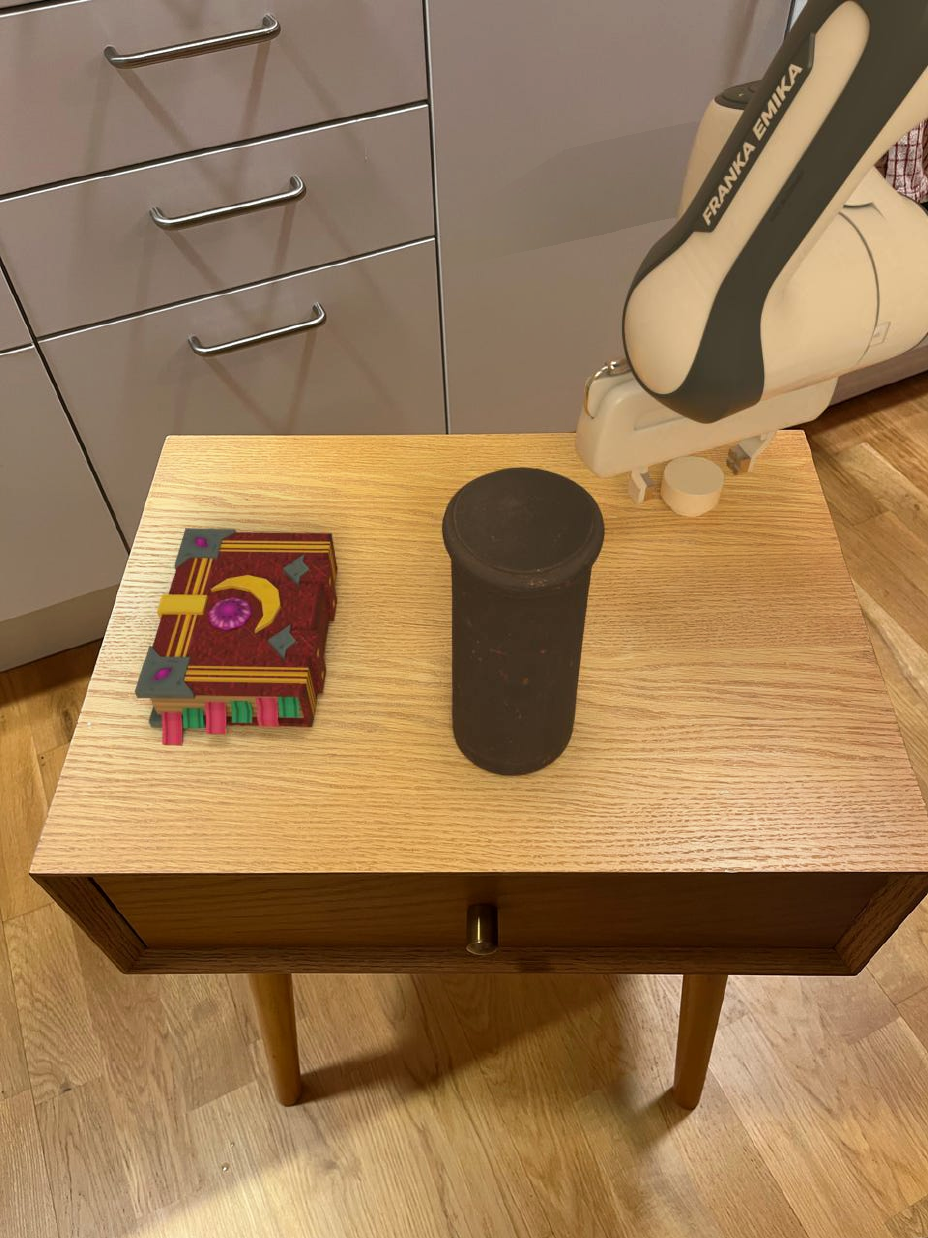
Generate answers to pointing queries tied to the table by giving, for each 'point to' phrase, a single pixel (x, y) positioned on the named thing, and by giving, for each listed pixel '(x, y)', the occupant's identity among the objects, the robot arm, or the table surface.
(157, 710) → the decorative book
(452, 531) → the container
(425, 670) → the table surface
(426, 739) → the table surface
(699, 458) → the beige cylinder disc
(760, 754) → the table surface
